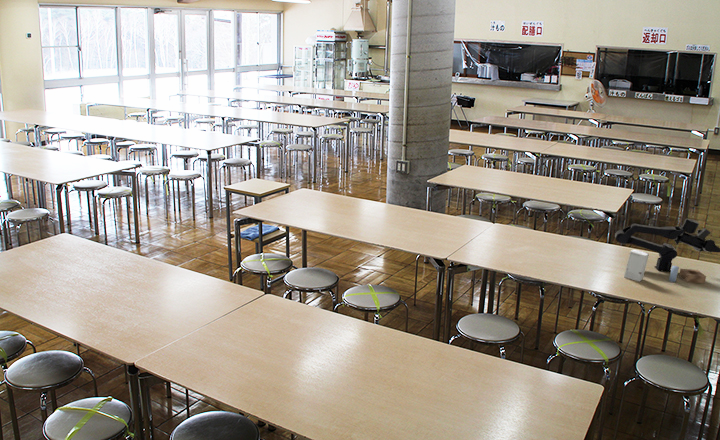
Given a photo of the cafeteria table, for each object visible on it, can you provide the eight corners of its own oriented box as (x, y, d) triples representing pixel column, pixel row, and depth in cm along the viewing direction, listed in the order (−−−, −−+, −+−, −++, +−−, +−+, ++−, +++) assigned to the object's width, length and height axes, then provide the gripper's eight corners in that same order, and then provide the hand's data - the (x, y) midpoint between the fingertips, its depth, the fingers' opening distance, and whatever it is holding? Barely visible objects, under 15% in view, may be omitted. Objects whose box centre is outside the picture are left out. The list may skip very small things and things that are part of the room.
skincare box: (623, 277, 311) (629, 251, 306) (627, 274, 315) (632, 248, 311) (640, 282, 306) (646, 255, 301) (643, 279, 310) (649, 252, 306)
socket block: (687, 282, 309) (688, 275, 308) (678, 275, 318) (680, 268, 317) (704, 283, 309) (706, 276, 308) (695, 276, 318) (697, 269, 316)
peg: (670, 281, 308) (673, 267, 306) (667, 279, 312) (670, 265, 309) (676, 282, 308) (679, 268, 306) (673, 279, 311) (677, 265, 309)
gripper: (702, 225, 307) (733, 237, 304) (690, 226, 325) (719, 237, 322) (693, 245, 308) (724, 257, 305) (682, 244, 326) (710, 256, 323)
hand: (719, 251), depth 313 cm, fingers open, 9 cm apart
